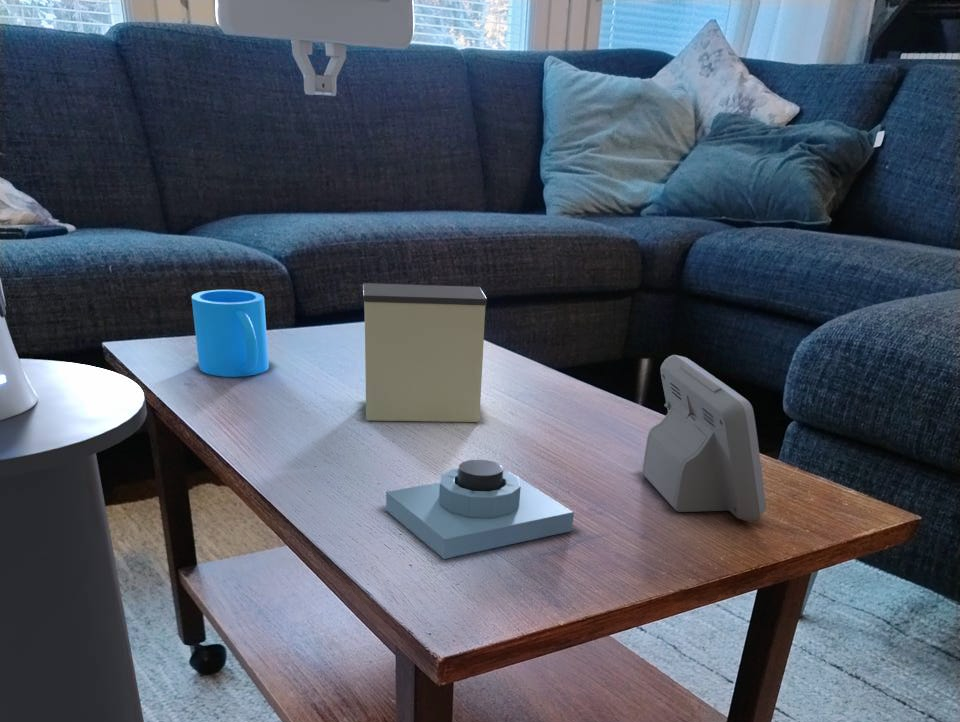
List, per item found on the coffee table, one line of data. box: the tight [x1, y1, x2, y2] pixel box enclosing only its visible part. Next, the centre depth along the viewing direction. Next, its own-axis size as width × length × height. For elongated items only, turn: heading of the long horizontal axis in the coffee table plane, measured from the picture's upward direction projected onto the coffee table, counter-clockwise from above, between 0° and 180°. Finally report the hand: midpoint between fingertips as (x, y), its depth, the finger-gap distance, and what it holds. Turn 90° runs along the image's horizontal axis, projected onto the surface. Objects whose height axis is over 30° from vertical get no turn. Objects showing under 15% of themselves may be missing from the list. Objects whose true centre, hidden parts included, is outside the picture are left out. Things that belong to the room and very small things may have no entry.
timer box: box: [385, 467, 575, 560], centre depth 74 cm, size 12×10×4 cm
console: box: [362, 282, 488, 423], centre depth 95 cm, size 6×12×13 cm, turn 97°
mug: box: [191, 289, 270, 378], centre depth 106 cm, size 12×8×8 cm
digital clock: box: [641, 354, 767, 522], centre depth 80 cm, size 16×9×11 cm, turn 179°
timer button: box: [457, 459, 504, 491], centre depth 73 cm, size 4×4×2 cm
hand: (320, 95), depth 94 cm, fingers closed
